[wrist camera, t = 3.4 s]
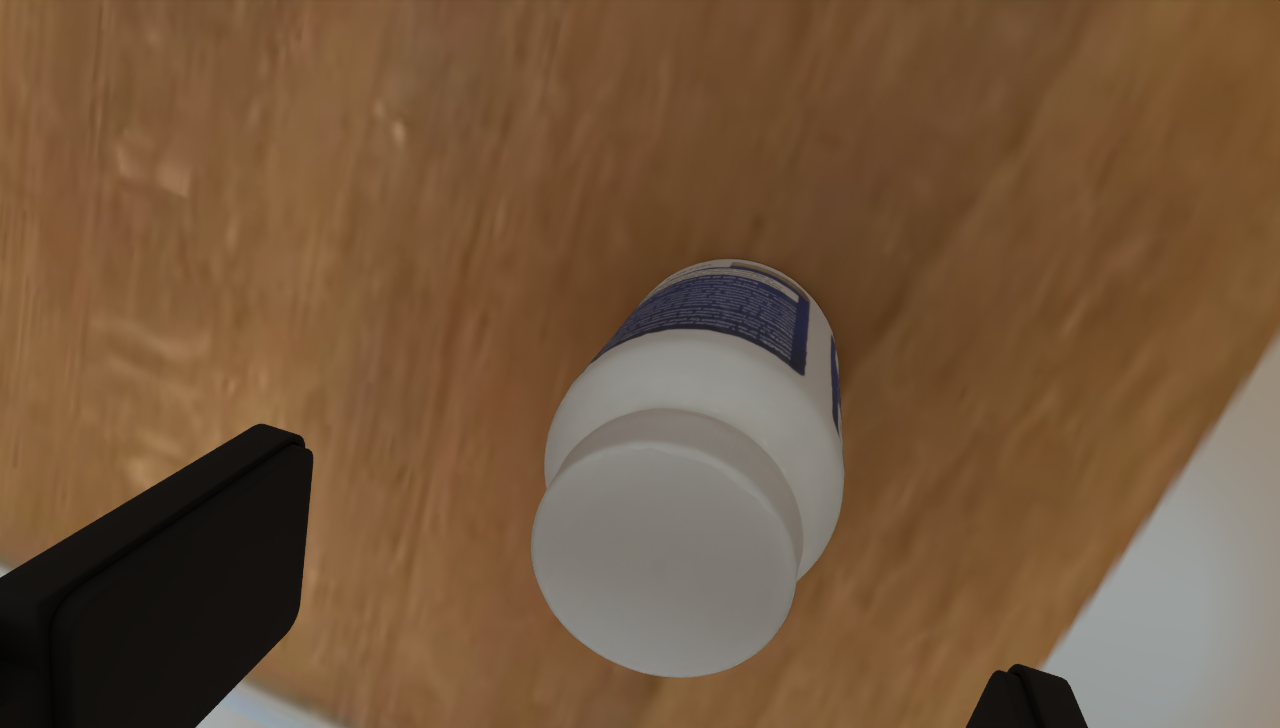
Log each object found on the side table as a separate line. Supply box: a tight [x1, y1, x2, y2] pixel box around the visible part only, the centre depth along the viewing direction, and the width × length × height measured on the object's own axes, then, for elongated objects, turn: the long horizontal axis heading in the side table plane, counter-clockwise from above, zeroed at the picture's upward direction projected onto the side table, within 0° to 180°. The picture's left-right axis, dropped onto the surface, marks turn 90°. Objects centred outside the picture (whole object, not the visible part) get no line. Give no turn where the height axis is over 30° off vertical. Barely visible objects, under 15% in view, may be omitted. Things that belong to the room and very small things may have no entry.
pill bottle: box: [531, 259, 845, 678], centre depth 16 cm, size 5×5×10 cm
